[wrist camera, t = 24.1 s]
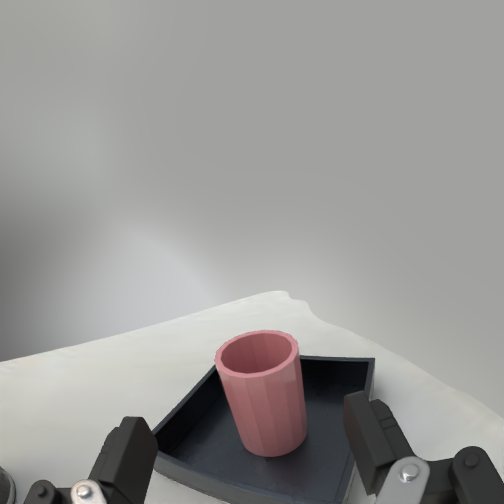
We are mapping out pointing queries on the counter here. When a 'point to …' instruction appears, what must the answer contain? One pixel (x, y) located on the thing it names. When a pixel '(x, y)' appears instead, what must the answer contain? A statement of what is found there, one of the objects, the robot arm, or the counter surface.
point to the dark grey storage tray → (259, 467)
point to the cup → (264, 390)
